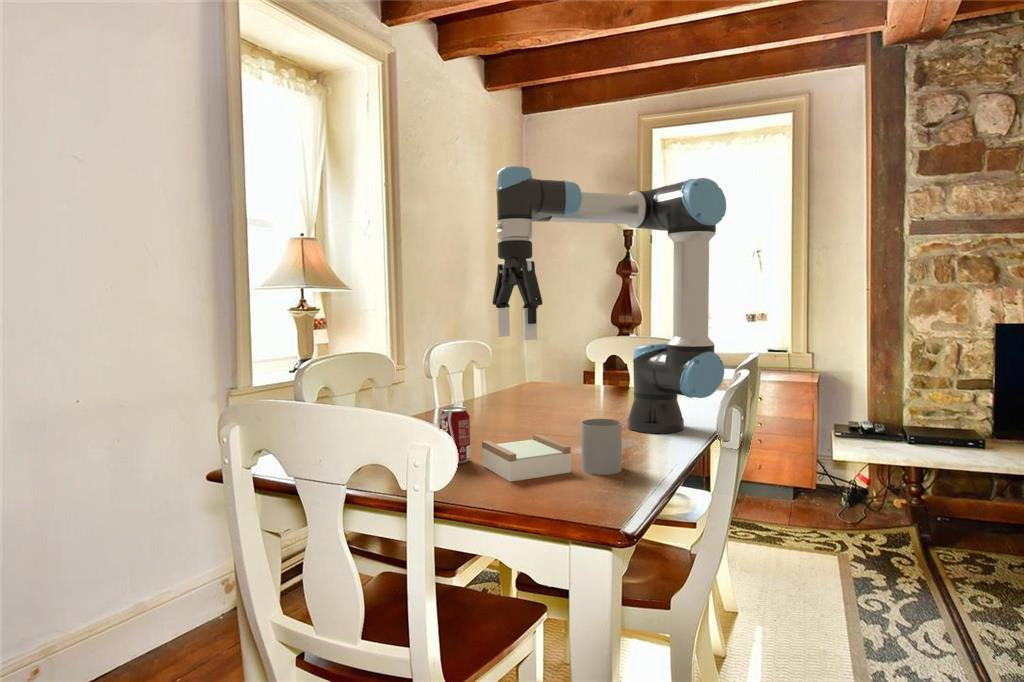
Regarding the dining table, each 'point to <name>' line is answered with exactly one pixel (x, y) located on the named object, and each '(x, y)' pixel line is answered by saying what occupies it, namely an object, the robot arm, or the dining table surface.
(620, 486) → the dining table surface
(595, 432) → the cup
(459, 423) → the soda can
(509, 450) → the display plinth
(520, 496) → the dining table surface
